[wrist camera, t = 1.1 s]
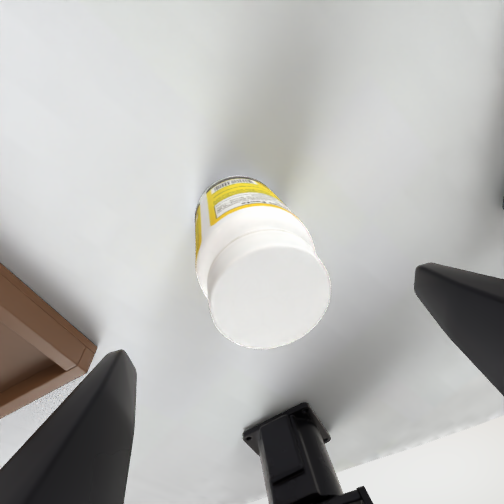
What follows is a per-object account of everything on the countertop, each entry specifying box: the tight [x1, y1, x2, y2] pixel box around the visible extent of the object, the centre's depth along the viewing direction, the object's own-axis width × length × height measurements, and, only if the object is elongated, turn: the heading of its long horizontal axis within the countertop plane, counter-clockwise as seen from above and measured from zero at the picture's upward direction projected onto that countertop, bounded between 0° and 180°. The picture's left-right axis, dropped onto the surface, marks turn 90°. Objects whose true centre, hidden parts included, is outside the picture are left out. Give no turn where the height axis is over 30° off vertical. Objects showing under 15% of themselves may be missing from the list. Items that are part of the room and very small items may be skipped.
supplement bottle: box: [195, 176, 331, 349], centre depth 13 cm, size 5×5×8 cm
